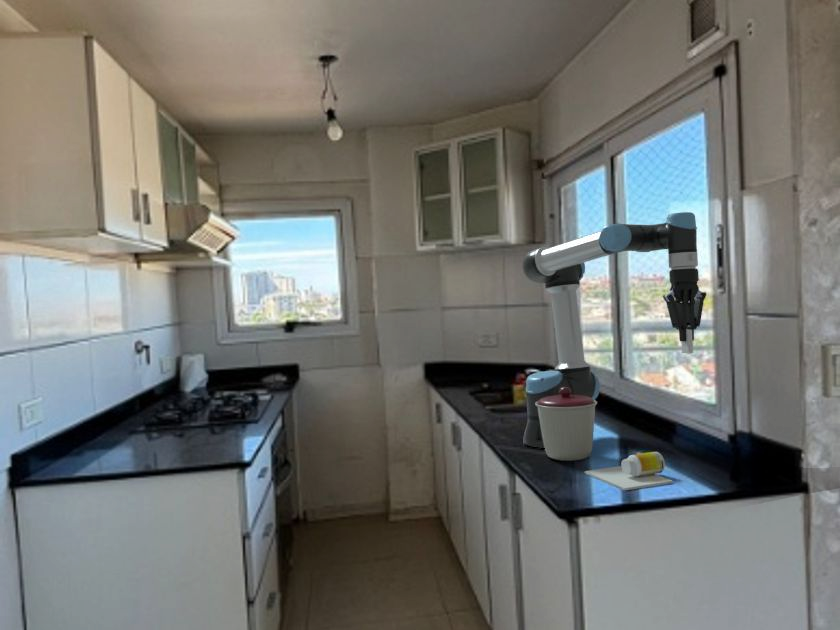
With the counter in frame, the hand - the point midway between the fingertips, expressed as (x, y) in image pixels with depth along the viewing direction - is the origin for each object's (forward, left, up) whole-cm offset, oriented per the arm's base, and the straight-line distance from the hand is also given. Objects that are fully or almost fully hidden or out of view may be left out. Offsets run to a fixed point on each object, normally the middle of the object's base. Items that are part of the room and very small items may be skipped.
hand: (687, 352), depth 181 cm
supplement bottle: (+7, -16, -27) cm, 32 cm away
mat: (+6, -26, -30) cm, 40 cm away
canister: (-21, -27, -31) cm, 46 cm away
